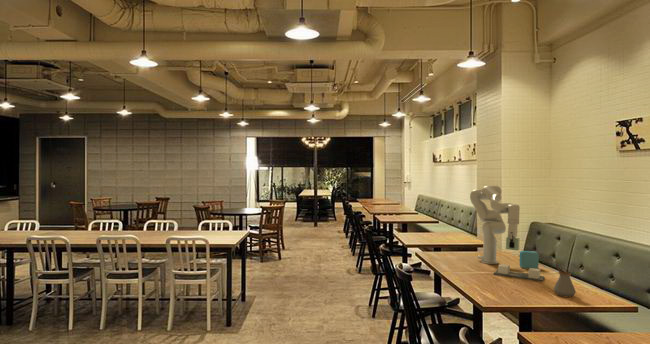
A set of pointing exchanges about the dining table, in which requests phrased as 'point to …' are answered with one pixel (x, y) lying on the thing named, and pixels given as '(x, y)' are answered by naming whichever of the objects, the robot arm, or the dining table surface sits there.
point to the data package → (529, 259)
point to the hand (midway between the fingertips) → (512, 246)
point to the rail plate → (519, 276)
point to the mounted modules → (531, 272)
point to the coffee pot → (564, 284)
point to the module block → (516, 244)
